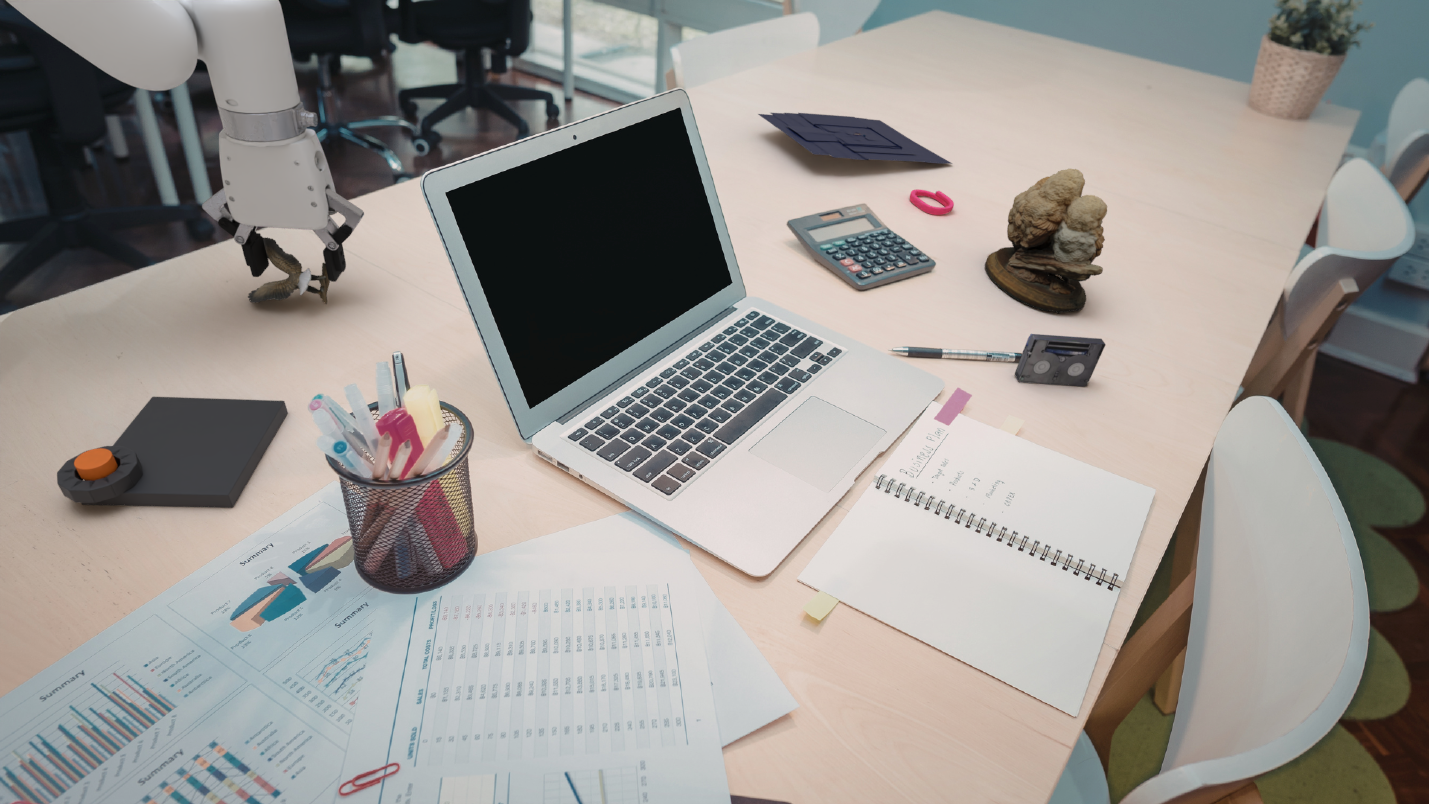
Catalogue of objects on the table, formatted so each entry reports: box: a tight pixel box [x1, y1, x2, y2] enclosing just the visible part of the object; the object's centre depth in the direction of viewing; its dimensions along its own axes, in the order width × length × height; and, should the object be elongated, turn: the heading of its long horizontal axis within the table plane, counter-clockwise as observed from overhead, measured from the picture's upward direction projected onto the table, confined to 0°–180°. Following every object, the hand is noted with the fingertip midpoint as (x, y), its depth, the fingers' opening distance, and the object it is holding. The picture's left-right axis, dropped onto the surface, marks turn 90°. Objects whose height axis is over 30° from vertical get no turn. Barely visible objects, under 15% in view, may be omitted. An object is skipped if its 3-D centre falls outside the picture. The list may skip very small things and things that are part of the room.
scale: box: [56, 396, 289, 509], centre depth 72 cm, size 13×14×3 cm
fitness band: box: [909, 189, 955, 216], centre depth 133 cm, size 8×6×2 cm
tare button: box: [74, 447, 117, 481], centre depth 67 cm, size 3×3×1 cm
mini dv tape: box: [1014, 333, 1106, 388], centre depth 93 cm, size 8×2×6 cm, turn 90°
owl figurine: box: [984, 168, 1108, 314], centre depth 109 cm, size 18×12×17 cm, turn 19°
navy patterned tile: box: [757, 112, 953, 165], centre depth 151 cm, size 24×30×4 cm
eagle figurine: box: [247, 237, 331, 305], centre depth 93 cm, size 8×7×9 cm
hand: (298, 272), depth 93 cm, fingers closed on eagle figurine, 7 cm apart
